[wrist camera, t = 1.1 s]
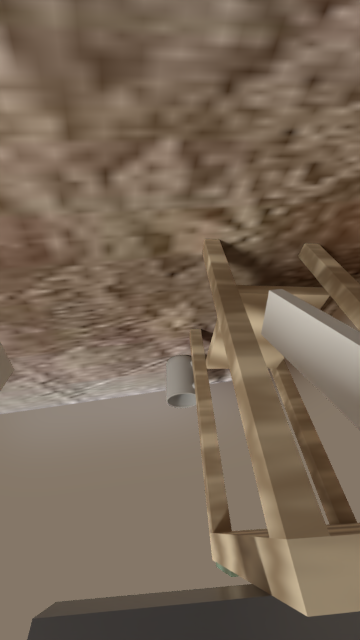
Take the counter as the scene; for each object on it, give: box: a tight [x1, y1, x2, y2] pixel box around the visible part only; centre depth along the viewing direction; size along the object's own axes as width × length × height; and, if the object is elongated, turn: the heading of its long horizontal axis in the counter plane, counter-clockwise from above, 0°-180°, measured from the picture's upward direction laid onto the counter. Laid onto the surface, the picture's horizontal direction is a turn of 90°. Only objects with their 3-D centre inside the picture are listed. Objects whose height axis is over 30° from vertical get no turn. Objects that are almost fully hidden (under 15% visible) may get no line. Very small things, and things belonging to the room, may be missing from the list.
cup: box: [166, 355, 197, 408], centre depth 46 cm, size 7×10×9 cm
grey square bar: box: [27, 584, 360, 640], centre depth 11 cm, size 3×26×3 cm, turn 86°
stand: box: [189, 239, 360, 617], centre depth 26 cm, size 20×16×30 cm
